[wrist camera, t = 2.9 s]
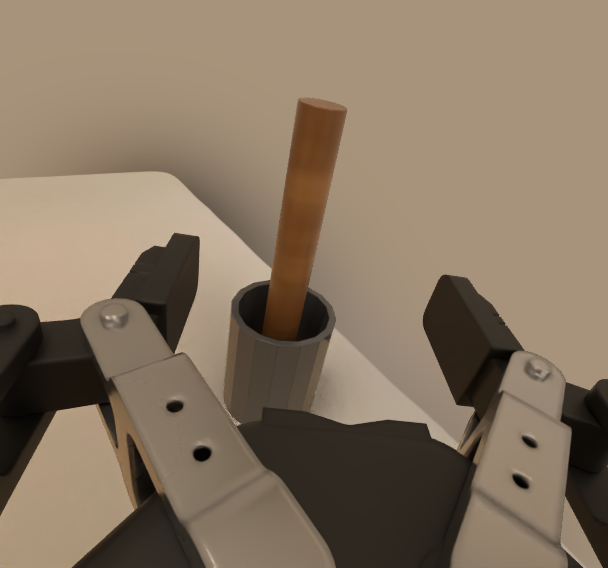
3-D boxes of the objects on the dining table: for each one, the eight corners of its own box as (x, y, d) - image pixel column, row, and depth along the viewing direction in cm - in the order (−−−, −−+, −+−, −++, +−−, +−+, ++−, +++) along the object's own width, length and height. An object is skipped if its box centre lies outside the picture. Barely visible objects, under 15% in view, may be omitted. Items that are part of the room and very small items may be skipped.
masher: (308, 401, 31) (387, 119, 19) (254, 421, 29) (306, 112, 17) (281, 361, 35) (335, 97, 23) (231, 375, 32) (261, 88, 20)
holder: (328, 413, 32) (355, 331, 27) (244, 446, 28) (258, 358, 23) (286, 352, 36) (303, 274, 32) (211, 374, 33) (216, 288, 28)
